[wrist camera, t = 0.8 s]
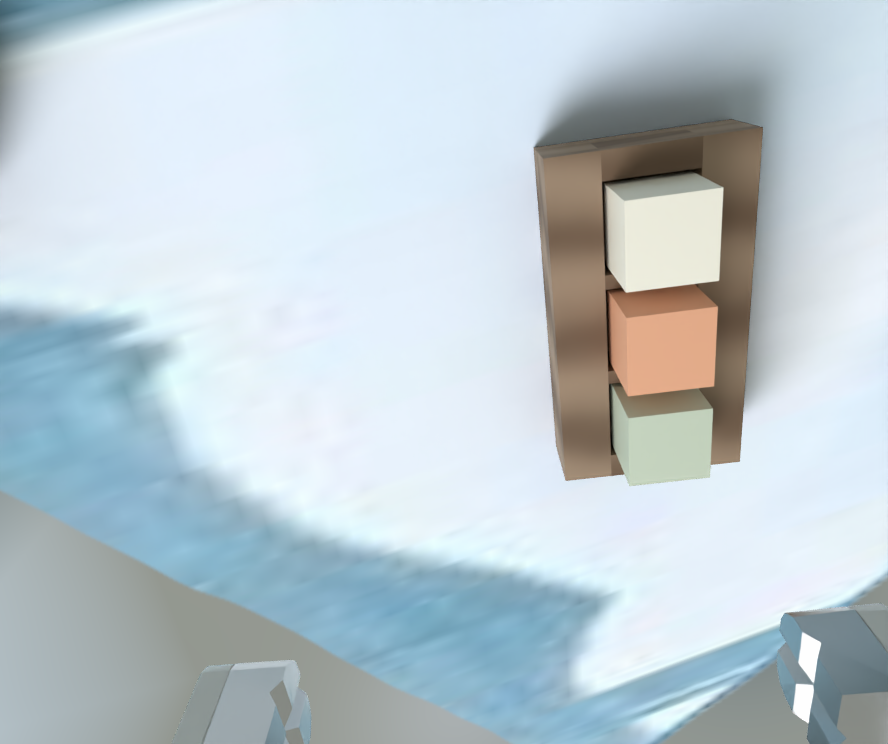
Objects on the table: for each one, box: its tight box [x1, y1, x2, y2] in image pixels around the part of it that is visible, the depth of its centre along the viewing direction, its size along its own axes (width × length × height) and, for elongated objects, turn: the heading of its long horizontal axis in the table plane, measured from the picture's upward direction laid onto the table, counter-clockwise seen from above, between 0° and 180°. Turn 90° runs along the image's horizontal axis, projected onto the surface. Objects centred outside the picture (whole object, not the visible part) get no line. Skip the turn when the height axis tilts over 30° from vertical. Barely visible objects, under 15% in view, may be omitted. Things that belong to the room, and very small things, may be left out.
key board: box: [534, 119, 763, 481], centre depth 43 cm, size 22×12×4 cm, turn 8°
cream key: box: [604, 171, 723, 293], centre depth 37 cm, size 5×5×5 cm
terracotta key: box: [607, 284, 718, 396], centre depth 40 cm, size 5×5×5 cm
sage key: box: [610, 382, 713, 486], centre depth 43 cm, size 5×5×5 cm
